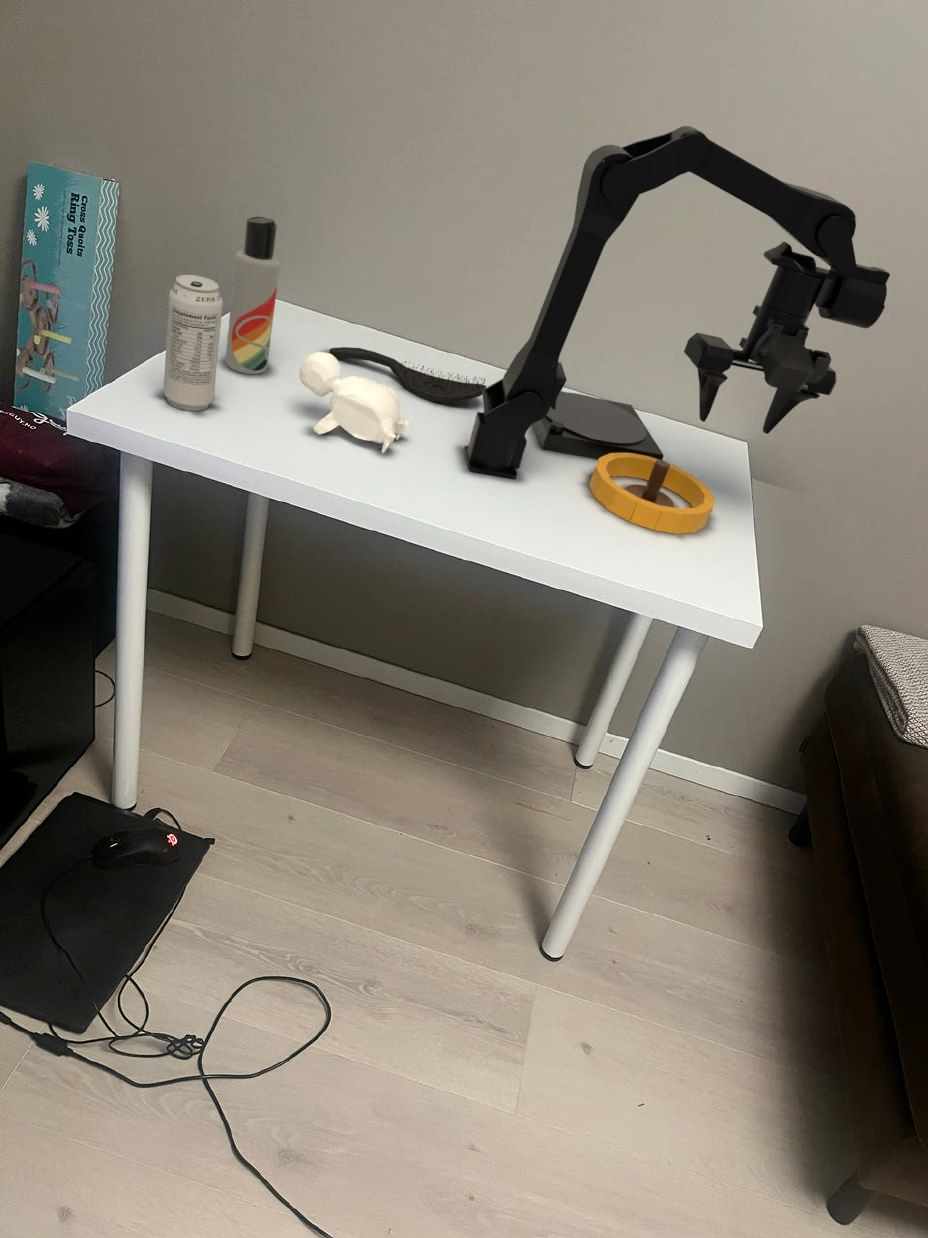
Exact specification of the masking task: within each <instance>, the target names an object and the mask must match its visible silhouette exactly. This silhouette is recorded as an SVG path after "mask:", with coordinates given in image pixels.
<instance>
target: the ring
mask: <svg viewBox="0 0 928 1238" xmlns="http://www.w3.org/2000/svg"><path fill="white" fill-rule="evenodd" d="M656 460H658V459H655V458H652V457H649V456H645V455H639V454H634V453H610V454H607V455H605V456H602V457H600V458H599V459H597V462H596V464H595V467H594V470H593V472H592V475H591V479H590V481H589V484H588V487H589V489H590V491H591V493H592V495H593V497H594V499H595V500H597V502H599V503H600V504H601V505H602V506H603V507H604V508H606V509H607V510H608V511H609V512H610V513H613V514H614V515H616V516H618V517H619V518H622V519H623V520H625V521H627V522H629V523H632V524H635V525H637V526H640V527H643V528H646V529H649V530H652V531H656V532H661V533H668V534H675V535H681V534H682V535H683V534H694V533H697V532H698V531H700V530H701V529H703V528H704V527H706V525H707V524H708V520H709V519H710V517H711V514H712V511H713V510H714V508H715V507H714V506H715V495H714V494H713V493H712V491H711V490H710V489H709V487H708V486H707V485H706V484H705V483H704V482H702V481H701V480H700V479H698V478H697V477H696V476H694V475H693V474H692V473H690V472H688V471H686V470H684V469H682V468H680V467H679V466H676V465H675V464H673V463H670V462H668V463H669V464H670V468H669V470H668V472H667V475H666V477H665V480H664V482H663V485H662V487H664V488H666V489H668V490H670V491H672V492H673V493H675V494H676V495H678V496H680V497H681V498H682V499H683V500H685V502H687V503H688V504H690V506H691V507H686V508H685V507H684V508H679V507H667V506H661V505H658V504H655V503H652V502H649V501H646V500H643V499H641V498H639V497H637V496H635V495H633V494H632V493H630V492H628V491H626V490H624V489H625V488H622V487H621V486H620V485H619V484H618V483H617V482H616V481H614V480H613V479H612V478H613V477H629V478H635V479H639V480H645V481H648V479H649V477H650V474H651V472H652V469H653V467H654V464H655V462H656Z"/></svg>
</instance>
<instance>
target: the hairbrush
mask: <svg viewBox="0 0 928 1238" xmlns="http://www.w3.org/2000/svg"><path fill="white" fill-rule="evenodd" d="M328 351H329V352H328V353H330V354H332V355H333V356H334V357H335V358H341V359H351V360H358V361H359V360H360V361H369V362H371V363H375V364H378V365H381V366H384V367H387V368H389V369H390V370H391V372H392V373H393V375H394V376H395V377H396V378H397V379H398V381H399V382H400V383H401V384H402V385H403V386H404V388H405V389H407V390H408V391H409V392H411V393H412V394H414V395H415V396H417V397H419V398H421V399H425V400H428V401H431V402H437V403H438V402H439V403H445V404H446V403H448V404H449V403H457V402H465V401H471V400H473V399H476V398H478V397H482V391H483V390H484V389H485V388H487V385H485V382H486V378H485V377H484V378H482V377H481V378H480V377H478V379H480V380H483V381H482V383H479V380H477V376H474V377H473V380H472V382H470V379H468V376H467V375H466V377H464V378H463V375H461V376H460V374H458V373H457V376H454V377H452V376H453V375H454V373H452V375H451V372H448V376H447V378H445V375H443V374H444V371H441V370H440V372H439V369H438V370H437V371H436V372H435V373H433V372H434V368H431V370H430V374H429V373H428V372H429V371H428V370H429V369H430V367H427V369H425V371H424V368H425V365H422V366H421V368H420V371H419V370H418V367H419V366H420V364H418V366H416V367H415V366H414V365H415V364H416V363H413V366H411V368H410V366H406V364H407V360H404V362H400V361H398V360H397V359H395V358H393V357H390V356H387V355H384V354H382V353H380V352H376V351H373V350H369V349H365V348H361V347H352V346H351V347H347V346H342V347H332V348H329V350H328ZM410 363H411V362H410V361H409V362H408V364H410ZM438 372H439V373H440V374H438ZM435 374H437V376H436V375H435ZM475 382H476V383H475Z"/></svg>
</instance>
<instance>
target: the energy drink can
mask: <svg viewBox="0 0 928 1238" xmlns="http://www.w3.org/2000/svg"><path fill="white" fill-rule="evenodd" d="M219 288H220V286H219V284H218V283H217V282H216V281H214V280H212V279H211V278H207V277H204V276H201V275H200V276H199V275H194V274H193V275H192V274H181V275H177V276H176V277H175V283H174V285H172V287H171V288H170V290H169V292H168V294H169V296H168V308H167V309H168V310H167V325H166V327H167V328H166V341H165V342H166V343H165V361H164V376H163V377H164V378H163V395H164V396H165V397H166V398H167V402H168V403H169V404H170V406H172V407H175V408H177V409H180V410H182V411H187V412H188V411H189V412H199V411H200V412H201V411H204V410H206V409H208V407H209V405H210V404H211V403H213V402H214V399H215V390H216V389H215V388H216V379H217V369H218V359H219V358H218V357H219V347H220V338H221V337H220V335H221V325H222V313H223V304H224V300H223V298H222V296H221V293H220V291H219Z"/></svg>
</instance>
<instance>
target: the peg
mask: <svg viewBox="0 0 928 1238" xmlns="http://www.w3.org/2000/svg"><path fill="white" fill-rule="evenodd" d="M669 463H670V462H667V461H665V460H663V459H662V460H656V462H655V464H654V467H653V469H652V472H651V474H650V477H649V479H648V480H647V482H646V484H645V485H643V484H629V485H626V486H625V487H624V488H623V489H624V490H626V491H628V492H630V493H632V494H633V495H635V496H637V497H639V498H641V499H643V500H646V501H649V502H652V503H655V504H658V505H661V506H667V507H673V508H675V504H674V502H673V500H672V499H671V497H669V496H668V495H667V494H665V493H664V492H662V491H661V489H662V487H663V486H662V485H663V482H664V480H665V477H666V475H667V472H668V470H669V468H670V464H671V463H670V464H669Z"/></svg>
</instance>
